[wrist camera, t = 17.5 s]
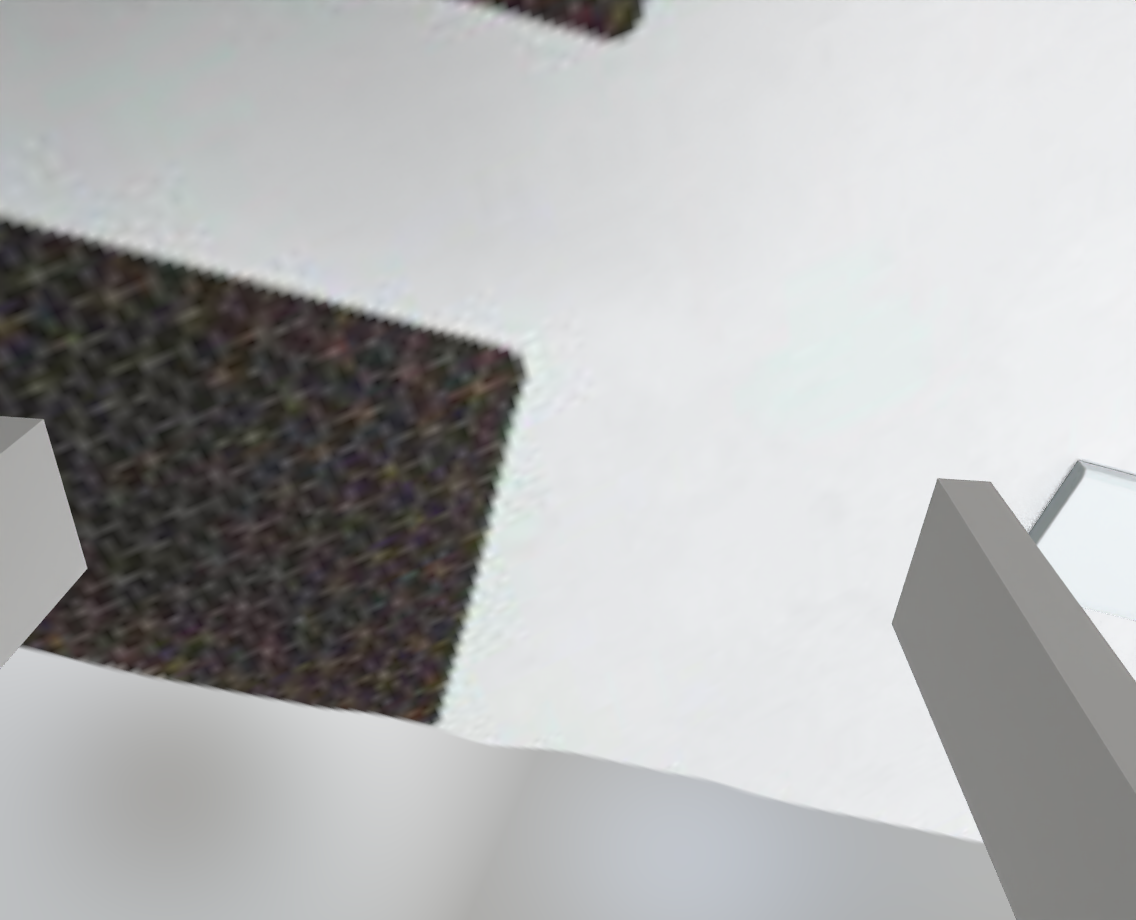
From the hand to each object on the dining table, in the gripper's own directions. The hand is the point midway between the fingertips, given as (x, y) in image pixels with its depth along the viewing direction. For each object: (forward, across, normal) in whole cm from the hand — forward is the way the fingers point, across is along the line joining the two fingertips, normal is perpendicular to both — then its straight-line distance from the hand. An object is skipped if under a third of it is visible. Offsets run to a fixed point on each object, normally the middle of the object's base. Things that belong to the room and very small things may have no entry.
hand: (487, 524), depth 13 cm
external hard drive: (+29, +32, -19) cm, 48 cm away
